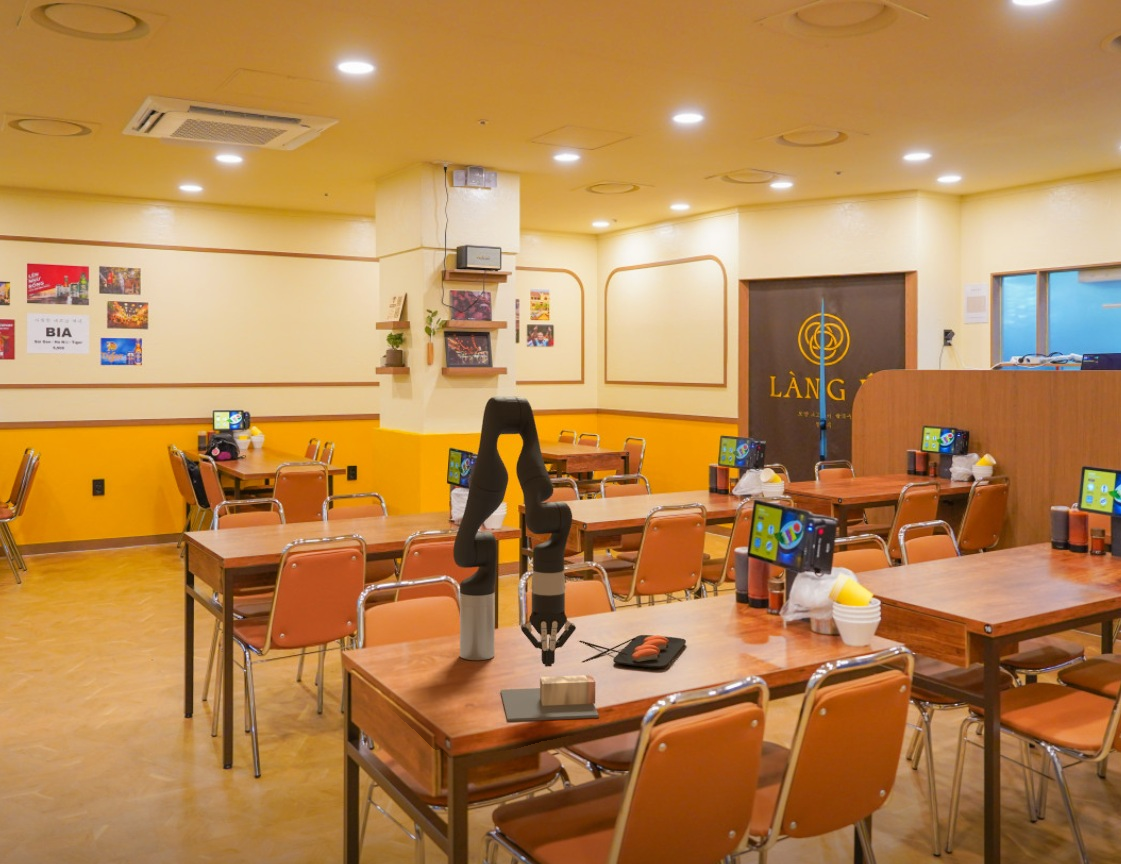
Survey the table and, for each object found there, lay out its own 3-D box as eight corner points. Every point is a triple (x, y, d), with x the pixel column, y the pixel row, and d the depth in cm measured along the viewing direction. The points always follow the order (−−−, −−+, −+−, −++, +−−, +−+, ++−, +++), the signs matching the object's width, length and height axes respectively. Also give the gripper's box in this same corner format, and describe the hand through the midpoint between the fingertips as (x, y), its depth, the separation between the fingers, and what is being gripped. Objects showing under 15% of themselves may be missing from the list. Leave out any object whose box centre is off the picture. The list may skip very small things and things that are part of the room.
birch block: (540, 677, 224) (591, 675, 226) (540, 698, 224) (591, 696, 226) (542, 683, 219) (595, 681, 221) (542, 705, 219) (595, 703, 221)
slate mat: (500, 692, 231) (500, 689, 231) (584, 688, 233) (584, 686, 233) (507, 721, 211) (507, 718, 211) (598, 717, 213) (598, 714, 213)
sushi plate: (665, 674, 247) (665, 659, 247) (553, 662, 257) (553, 648, 256) (688, 645, 274) (688, 631, 274) (586, 635, 284) (586, 622, 284)
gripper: (574, 585, 225) (574, 660, 226) (517, 587, 223) (517, 661, 224) (579, 593, 218) (579, 669, 219) (520, 594, 216) (520, 671, 217)
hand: (547, 665), depth 222 cm, fingers closed
